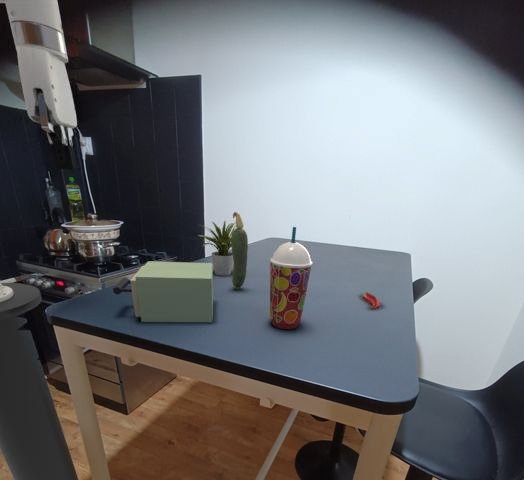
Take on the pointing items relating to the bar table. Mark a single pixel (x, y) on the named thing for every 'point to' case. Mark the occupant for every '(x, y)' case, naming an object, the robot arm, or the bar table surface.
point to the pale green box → (175, 292)
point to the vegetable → (239, 252)
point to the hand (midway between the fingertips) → (66, 169)
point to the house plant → (221, 249)
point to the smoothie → (288, 283)
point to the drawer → (121, 288)
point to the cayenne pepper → (371, 300)
